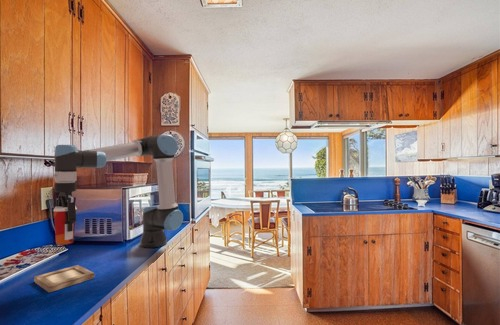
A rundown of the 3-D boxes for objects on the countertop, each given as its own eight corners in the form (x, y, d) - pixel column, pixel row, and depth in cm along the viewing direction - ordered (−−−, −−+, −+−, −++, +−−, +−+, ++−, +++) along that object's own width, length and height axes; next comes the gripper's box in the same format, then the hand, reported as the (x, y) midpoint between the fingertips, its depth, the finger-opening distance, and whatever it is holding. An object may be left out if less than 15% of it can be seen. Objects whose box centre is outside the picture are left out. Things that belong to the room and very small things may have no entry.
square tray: (77, 269, 122) (77, 264, 122) (94, 278, 113) (94, 273, 113) (34, 281, 109) (34, 276, 109) (48, 292, 100) (48, 286, 100)
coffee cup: (69, 239, 117) (70, 204, 117) (81, 241, 113) (81, 205, 113) (47, 244, 109) (48, 207, 110) (59, 246, 105) (59, 208, 106)
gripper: (45, 181, 114) (45, 236, 114) (65, 183, 103) (64, 243, 102) (65, 181, 120) (65, 232, 120) (86, 182, 109) (85, 239, 108)
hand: (64, 237), depth 111 cm, fingers closed on coffee cup, 7 cm apart
